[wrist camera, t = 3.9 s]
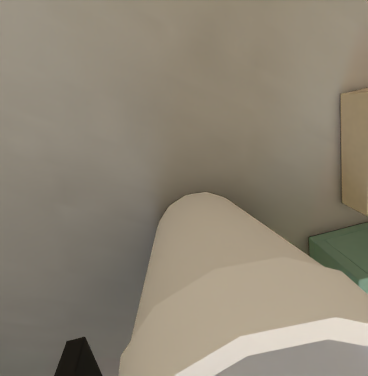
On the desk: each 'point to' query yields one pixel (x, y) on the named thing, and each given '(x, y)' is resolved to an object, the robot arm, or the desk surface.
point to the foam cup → (241, 302)
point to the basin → (344, 252)
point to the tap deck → (354, 149)
